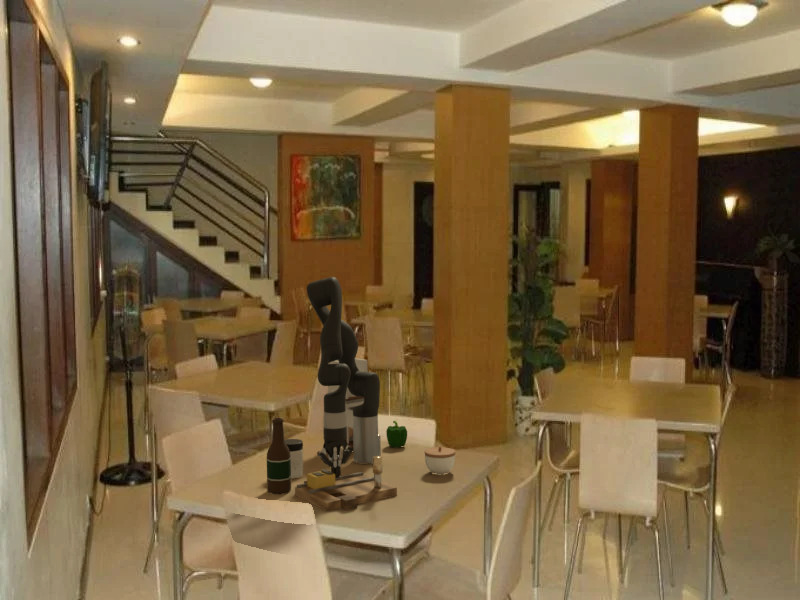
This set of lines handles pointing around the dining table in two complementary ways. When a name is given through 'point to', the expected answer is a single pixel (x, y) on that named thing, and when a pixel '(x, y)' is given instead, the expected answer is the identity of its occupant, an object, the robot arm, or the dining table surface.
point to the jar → (296, 457)
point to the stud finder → (320, 479)
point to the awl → (377, 471)
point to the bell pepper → (396, 435)
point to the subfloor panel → (345, 492)
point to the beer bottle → (278, 461)
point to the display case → (351, 400)
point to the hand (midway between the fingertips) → (335, 477)
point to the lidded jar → (440, 459)
